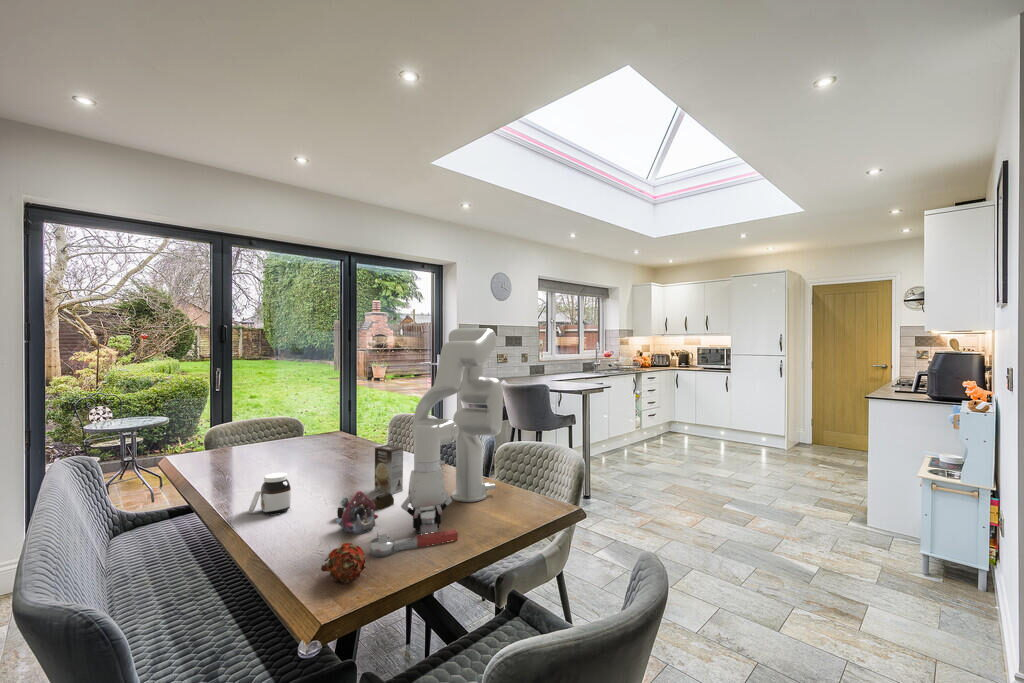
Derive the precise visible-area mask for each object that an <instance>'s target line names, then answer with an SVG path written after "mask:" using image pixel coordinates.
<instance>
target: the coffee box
mask: <svg viewBox="0 0 1024 683" xmlns="http://www.w3.org/2000/svg"><path fill="white" fill-rule="evenodd" d="M403 483H404V447H401V446H395V445H390V444H384V445H380V446H377V447H374V491H376V492H379V493H382V494H385V493H390V494H392V495H394V494H397V493H399V492H402V491H403V488H404V485H403Z"/></svg>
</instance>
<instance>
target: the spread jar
mask: <svg viewBox="0 0 1024 683" xmlns="http://www.w3.org/2000/svg"><path fill="white" fill-rule="evenodd" d="M288 478H289V477H288V473H287V472H273V473H268V474H265V475H264V476H263V483H262V485H261V488H260V491H259V490H256V491H255V494H254V495H253V498H252V500H251V503H250V505H249V508H248V512H247V513H248V514H254V512H253V511H255V509H256V506H257V504H258V501H259V499H260V508H261V511H262V512H261V513H262V514H264V515H266V514H268V515H267V516H272V515H271V514H276V515H280V514H279V513H281V514H283V512H284V513H286V512H287V511H289V509H291V502H292V501H291V500H292V491H291V490H292V489H291V483H290V481H289V480H288ZM285 511H286V512H285Z"/></svg>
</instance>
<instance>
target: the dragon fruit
mask: <svg viewBox="0 0 1024 683" xmlns="http://www.w3.org/2000/svg"><path fill="white" fill-rule="evenodd" d="M364 556H365V553H364V550H363V548H362V547H361V546H360V545H356V546H355V545H354V544H353V543H351V542H343V543H342V544H341V546H340V547H339V548H334V549H332V550H331V551H330V552H329V553H328V556H325V559H324V562H326V563H325V564H321V567H320V571H321V572H323V573H325V572H329V578H330V580H331V581H334V582H338V581H340V583H344V584H345V583H348V584H349V583H352V582H353V581H355V580H359V578H360V576H361V574H362V571H364V569H367V562H366V557H364Z"/></svg>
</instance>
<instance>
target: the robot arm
mask: <svg viewBox="0 0 1024 683" xmlns="http://www.w3.org/2000/svg"><path fill="white" fill-rule="evenodd" d="M497 341H498V340H497V334H496V332H495V331H494V330H493V329H491V328H488V327H487V328H485V327H483V328H480V327H477V328H476V327H475V328H473V327H462V328H461V327H460V328H455V329H453V330H451V331H450V332H449V333H448V342H445V343H444V344H443V345H442V347H441V351H440V355H439V359H438V365H437V369H436V370H437V371H436V376H435V381H434V384H433V385H432V387H431V388H430V389H429V390H427V392H425V393H424V395H423V396H422V397H421V399H420V400H419V402H418V404H417V405H416V408H415V411H414V415H413V419H412V427H411V434H412V435H411V436H412V437H413V470H410V471H411V472H410V476H409V482H408V483H409V484H408V492H407V493H408V496H407V497H406V498H405V500H404V501H402V504H401V505H400V507H401V509H402V510H404V511H405V512H406V513H408V514H409V515H410V516H412V528H413V529H414V530H415V531H416V533H419V531H420V519H419V517H418V514H419V510H420V508H422V507H435V508H436V523H437V530H438V529H440V525H441V524H442V514H443V512H444V511H445V510H446V508H447V507H448V506H449V505H450V504H451V503H452V501H453V500H454V501H456V502H460V501H461V502H463V503H473V502H480V501H482V500H485V499H486V498H487V496H488V492H487V491H488V490H491V491H492V490H495V489H497V488H496V484H495V483H490V482H486V483H485V482H483V479H484V477H483V475H484V474H483V473H484V472H483V468H484V466H483V464H484V460H483V459H484V456H483V455H484V454H483V453H484V450H483V445H482V441H481V440H480V438H479V436H483V437H484V436H485V437H495V436H498V435H499V434H500V433H501V431H502V427H503V412H504V411H503V409H504V406H503V405H504V403H503V402H504V389H503V384H502V382H501V381H500V380H499V379H498V378H497V377H496V378H495V377H484V363H485V362H486V361H487V359H488V358H489V357H490V356H491V354H492V353H493V352H494V350H495V348H496V345H497ZM457 393H458V396H459V400H460V401H461V402H462V403H464V404H470V405H471V404H472V405H486V406H487V407H486V408H485V407H484V408H483V407H461V408H459V409H457V410H456V411H455V412H454V414H453V420H452V419H448V418H447V419H446V418H433V417H432V418H429V416H430V412H431V410H432V409H433V408H434V406H435V405H437V404H438V403H439V402H441V401H442V400H444V399H446V398H448V397H449V398H450V397H451V396H453V395H455V394H457ZM454 442H455V490H454V491H452V493H451V496H450V495H449V494H448V493H447V492H446V489H445V488H446V487H445V486H446V485H445V477H444V472H443V469H442V466H445V465H446V460H444V459H443V460H442V459H441V446H444V445H451V444H453V443H454ZM409 504H410V506H411V507H412V508H411V507H410V506H409Z"/></svg>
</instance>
